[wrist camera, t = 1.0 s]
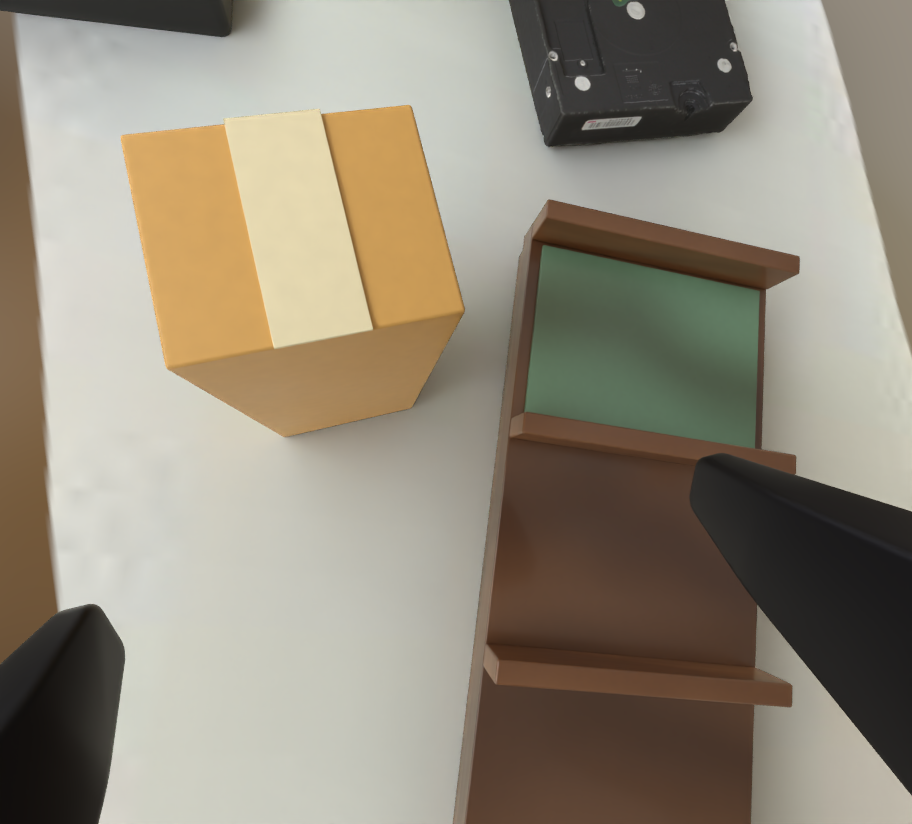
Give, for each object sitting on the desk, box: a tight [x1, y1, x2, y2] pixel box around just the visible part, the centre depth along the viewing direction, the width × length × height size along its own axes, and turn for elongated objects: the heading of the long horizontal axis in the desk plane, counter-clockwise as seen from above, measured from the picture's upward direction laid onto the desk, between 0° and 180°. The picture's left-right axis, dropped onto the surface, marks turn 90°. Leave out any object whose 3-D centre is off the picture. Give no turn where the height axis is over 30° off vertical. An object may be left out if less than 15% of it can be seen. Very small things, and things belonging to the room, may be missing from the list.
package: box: [121, 105, 465, 437], centre depth 16 cm, size 4×6×13 cm
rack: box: [453, 200, 800, 824], centre depth 20 cm, size 26×11×5 cm, turn 172°
